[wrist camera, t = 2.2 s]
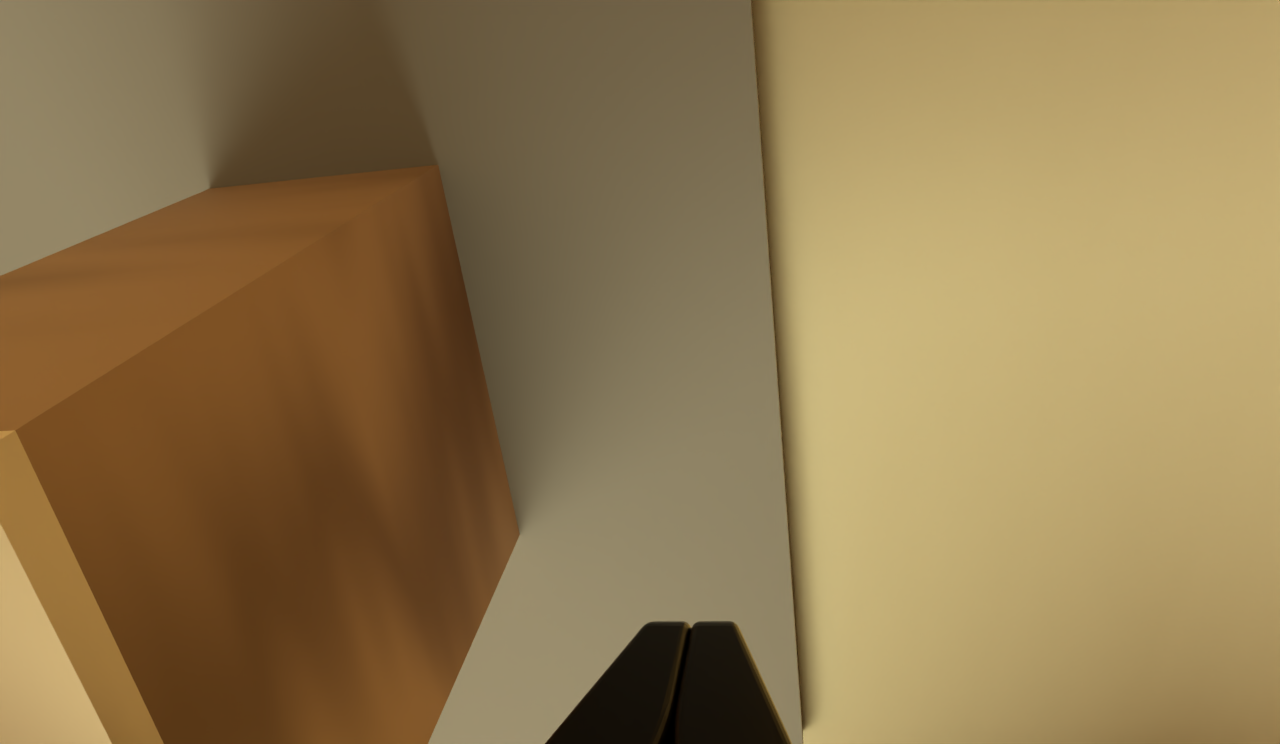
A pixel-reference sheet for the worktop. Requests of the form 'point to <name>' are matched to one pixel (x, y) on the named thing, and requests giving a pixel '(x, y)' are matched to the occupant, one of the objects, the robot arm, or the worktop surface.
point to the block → (247, 472)
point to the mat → (492, 270)
